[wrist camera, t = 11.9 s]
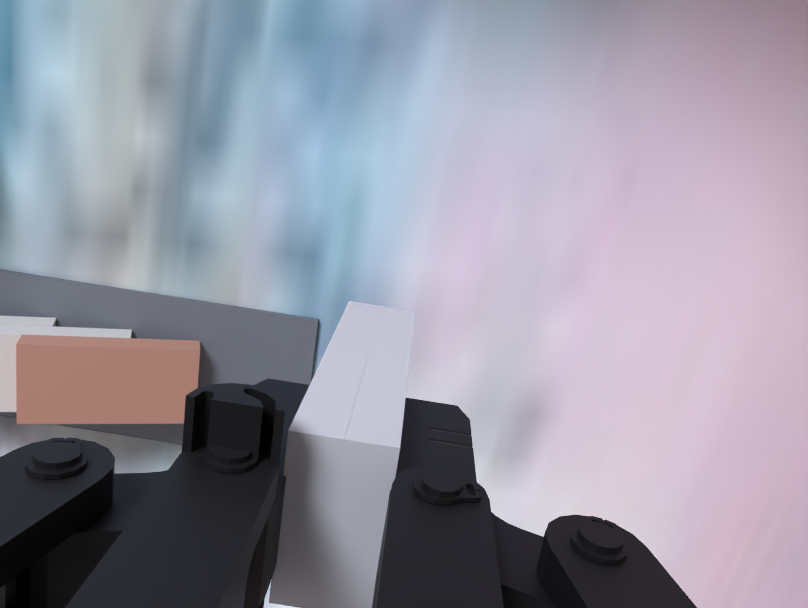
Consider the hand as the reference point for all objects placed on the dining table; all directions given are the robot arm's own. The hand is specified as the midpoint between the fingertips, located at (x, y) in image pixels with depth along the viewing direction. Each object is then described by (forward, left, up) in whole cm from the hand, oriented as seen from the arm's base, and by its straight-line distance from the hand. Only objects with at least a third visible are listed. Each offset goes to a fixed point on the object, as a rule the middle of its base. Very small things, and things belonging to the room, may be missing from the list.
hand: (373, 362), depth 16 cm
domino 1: (+1, -17, -25) cm, 31 cm away
